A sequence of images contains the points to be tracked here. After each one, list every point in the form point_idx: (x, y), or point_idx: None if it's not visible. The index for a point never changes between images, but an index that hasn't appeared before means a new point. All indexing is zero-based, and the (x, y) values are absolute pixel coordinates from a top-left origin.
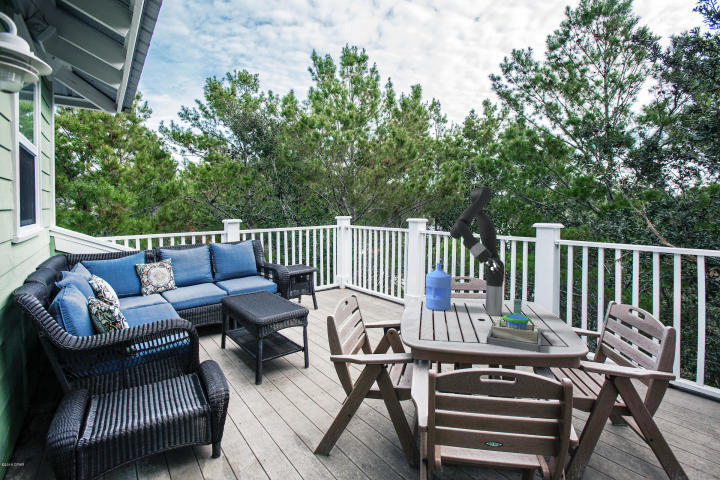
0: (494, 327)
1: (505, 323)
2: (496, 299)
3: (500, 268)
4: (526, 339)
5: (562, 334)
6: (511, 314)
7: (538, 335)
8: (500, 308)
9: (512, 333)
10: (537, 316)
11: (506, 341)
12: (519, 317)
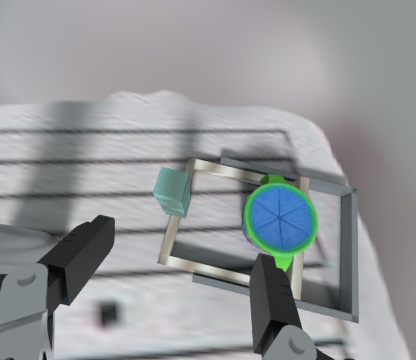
0: (300, 293)
1: (173, 239)
2: (16, 252)
3: (66, 260)
4: None
5: (208, 119)
6: (253, 228)
7: (283, 175)
8: (39, 236)
9: None
10: (60, 133)
11: (355, 264)
12: (270, 206)
